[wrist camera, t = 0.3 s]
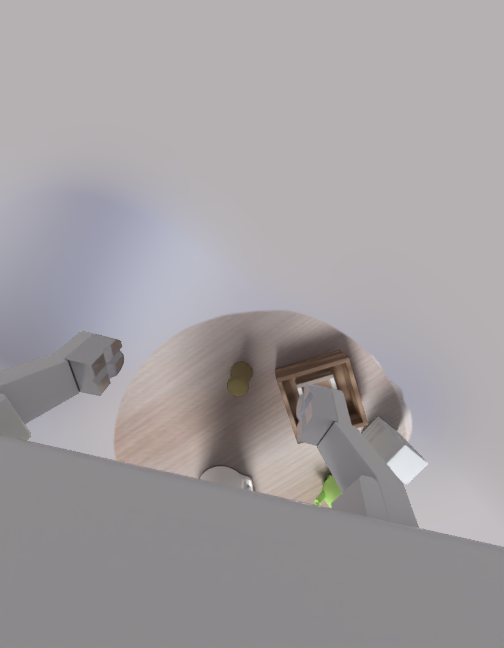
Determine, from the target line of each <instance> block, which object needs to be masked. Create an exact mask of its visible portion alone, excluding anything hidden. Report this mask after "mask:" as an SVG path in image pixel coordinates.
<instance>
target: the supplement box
mask: <svg viewBox="0 0 504 648" xmlns="http://www.w3.org/2000/svg"><path fill="white" fill-rule="evenodd" d="M361 434H362V435H363V436H364V437H365V439H366V440H367V441H368V442H369V443H370V445H371V446H372V447H373V448H374V449H375V451H376V452H377V453H378V454H379V455H380V457H381V458H382V459H383V460H384V461H385V463H386V464H387V465H388V466H389V467H390V469H391V470H392V471H393V472H394V473H395V475H396V476H397V477H398V478H399V479H400V480H401V481H402V482H404V483H405V484H408V483H409V482H410V481H411V480H412V479H413V478H414V477H415V476H416V475H417V474H418V473H419V472H420V471H421V470H422V469H423V468H425V467H426V466H427V465H428V463H427V461H426V460H425V459H424V458H423V457H422V456H421V455H420V454H419V453H418V452H417V451H416V450H415V449H414V448H413V447H412V446H411V445H410V444H409V443H408V442H407V441H406V440H405V439H404V438H403V437H402V436H401V435H400V434H399V433H398V432H397V431H396V430H395V429H393V428H392V427H391V426H390V425H388V424H387V423H386V422H385V421H383V420H382V419H381V418H380V417H377V418H376V419H375V420H374V421H373V422H372V423H371V424H370V425H369V426H368V427H367V428H366V429H365V430H364V431H363V432H362V433H361Z"/></svg>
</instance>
